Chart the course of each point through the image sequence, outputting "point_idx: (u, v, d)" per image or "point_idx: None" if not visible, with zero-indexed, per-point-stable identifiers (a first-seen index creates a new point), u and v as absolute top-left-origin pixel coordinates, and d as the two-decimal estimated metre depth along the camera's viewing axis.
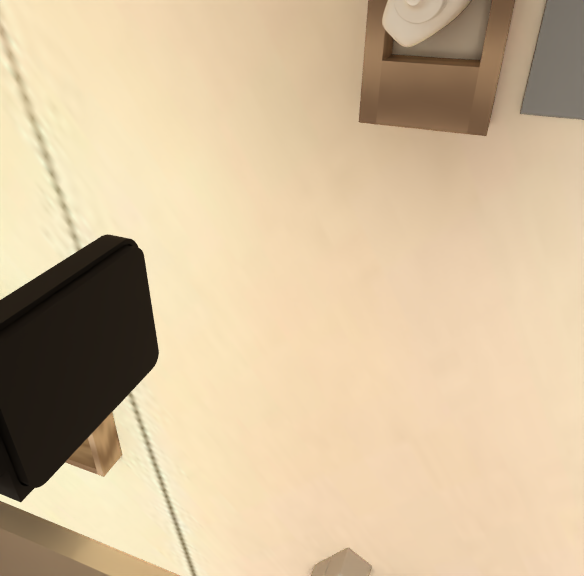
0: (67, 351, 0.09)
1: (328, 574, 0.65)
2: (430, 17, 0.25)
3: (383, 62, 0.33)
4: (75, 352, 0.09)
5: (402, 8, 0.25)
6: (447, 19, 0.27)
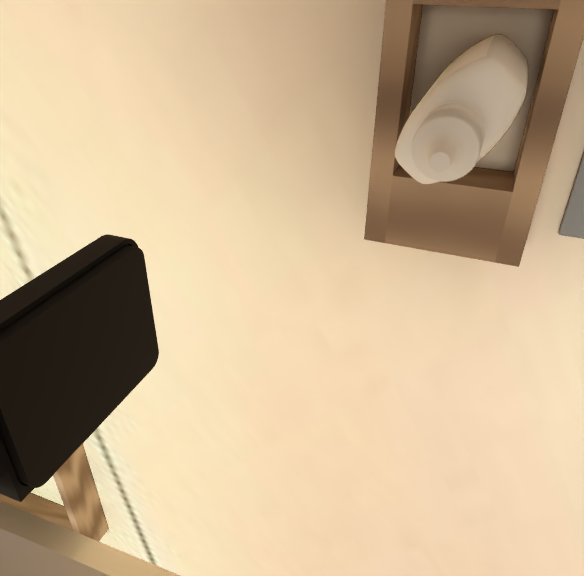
0: (67, 351, 0.09)
1: None
2: (460, 176, 0.19)
3: (394, 177, 0.28)
4: (75, 352, 0.09)
5: (423, 164, 0.19)
6: (478, 160, 0.21)
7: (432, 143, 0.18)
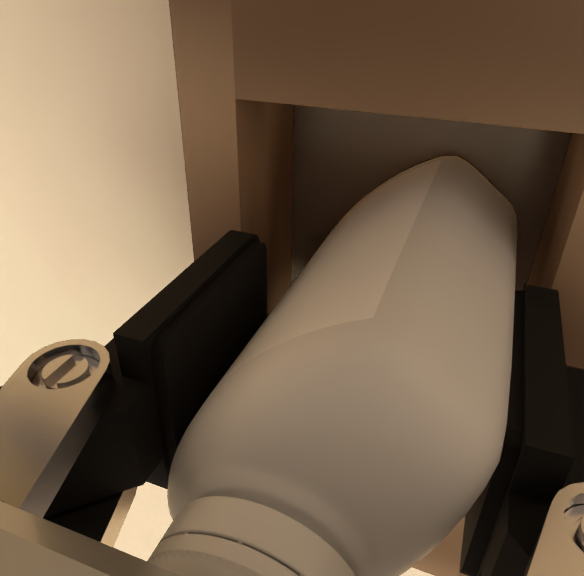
0: (213, 343, 0.09)
1: None
2: None
3: None
4: (217, 344, 0.09)
5: None
6: None
7: None
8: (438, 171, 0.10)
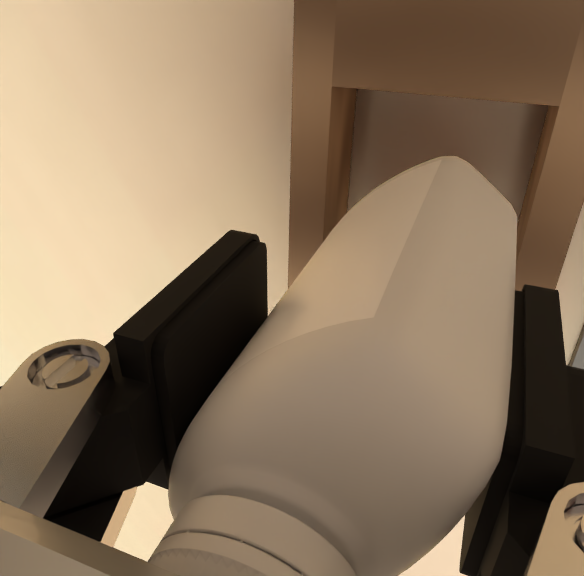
0: (213, 343, 0.09)
1: None
2: None
3: None
4: (217, 344, 0.09)
5: None
6: None
7: None
8: (438, 171, 0.10)
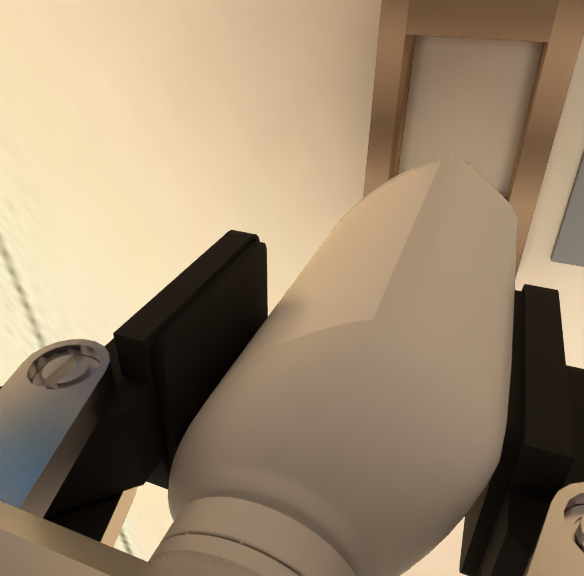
0: (213, 343, 0.09)
1: None
2: None
3: None
4: (218, 344, 0.09)
5: None
6: None
7: None
8: (438, 172, 0.10)
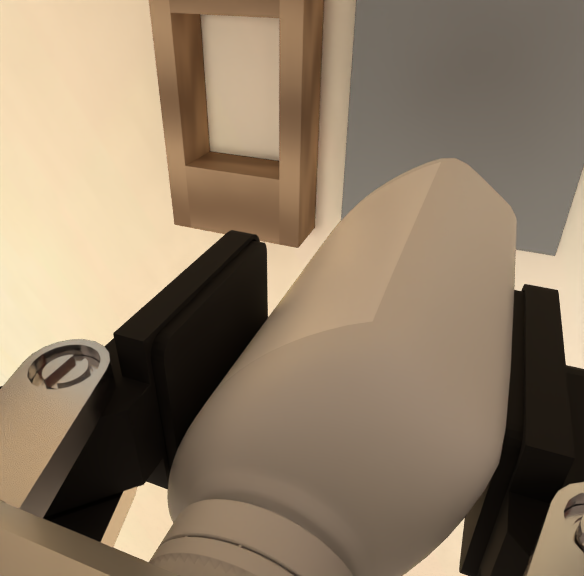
0: (213, 342, 0.09)
1: None
2: None
3: (186, 167, 0.31)
4: (218, 344, 0.09)
5: None
6: None
7: None
8: (437, 173, 0.10)
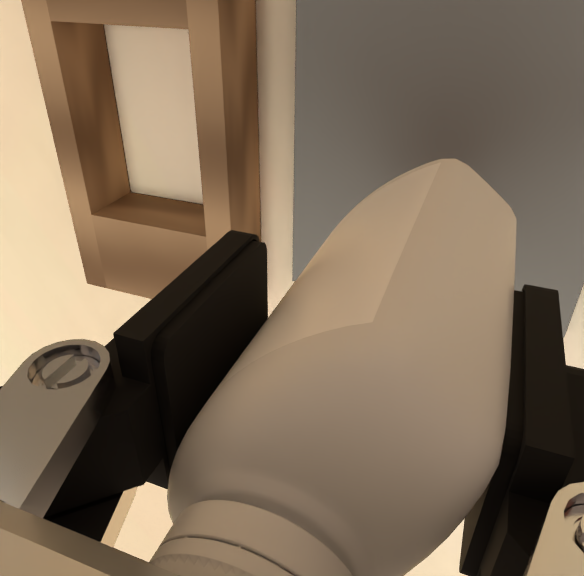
0: (213, 343, 0.09)
1: None
2: None
3: (93, 217, 0.24)
4: (217, 344, 0.09)
5: None
6: None
7: None
8: (437, 174, 0.10)
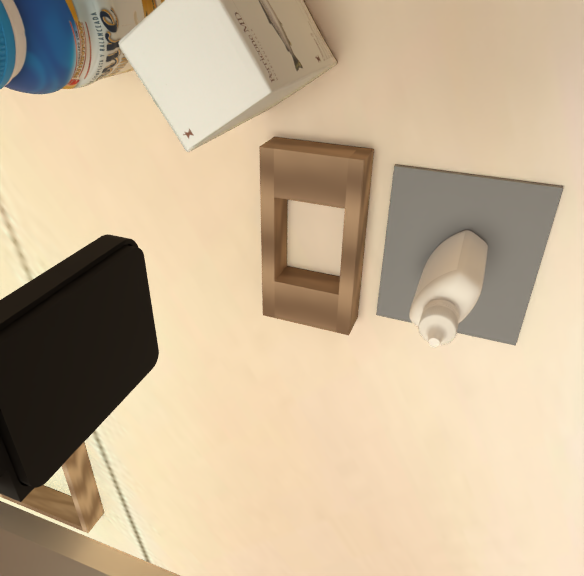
0: (67, 351, 0.09)
1: None
2: (447, 343, 0.34)
3: (275, 282, 0.47)
4: (75, 352, 0.09)
5: (426, 337, 0.34)
6: (459, 322, 0.36)
7: (429, 329, 0.33)
8: (464, 236, 0.39)
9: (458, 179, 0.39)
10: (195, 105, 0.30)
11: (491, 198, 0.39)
